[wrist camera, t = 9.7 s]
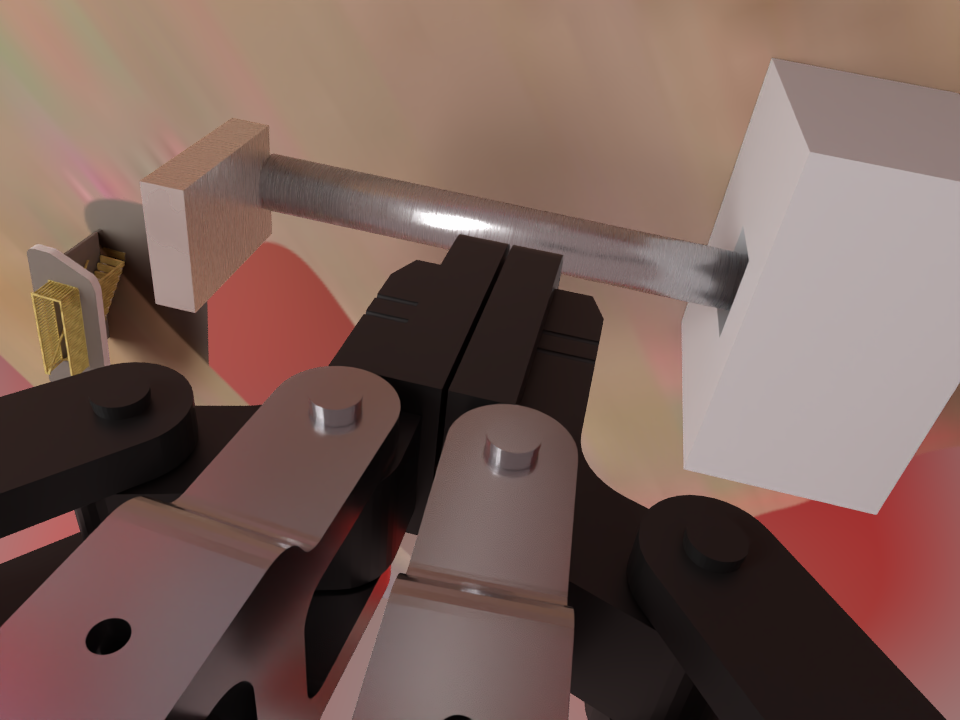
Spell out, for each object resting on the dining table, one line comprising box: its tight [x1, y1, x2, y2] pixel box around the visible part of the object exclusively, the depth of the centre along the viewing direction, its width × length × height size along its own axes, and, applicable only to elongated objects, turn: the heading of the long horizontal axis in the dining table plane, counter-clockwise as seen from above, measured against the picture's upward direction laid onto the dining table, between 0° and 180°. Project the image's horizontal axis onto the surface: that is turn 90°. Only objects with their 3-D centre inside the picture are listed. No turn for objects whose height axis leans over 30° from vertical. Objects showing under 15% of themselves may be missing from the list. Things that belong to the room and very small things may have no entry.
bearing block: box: [682, 58, 960, 515], centre depth 33 cm, size 8×14×12 cm, turn 172°
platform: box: [27, 199, 209, 382], centre depth 47 cm, size 12×18×7 cm, turn 169°
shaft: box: [140, 118, 749, 313], centre depth 30 cm, size 26×5×8 cm, turn 82°
